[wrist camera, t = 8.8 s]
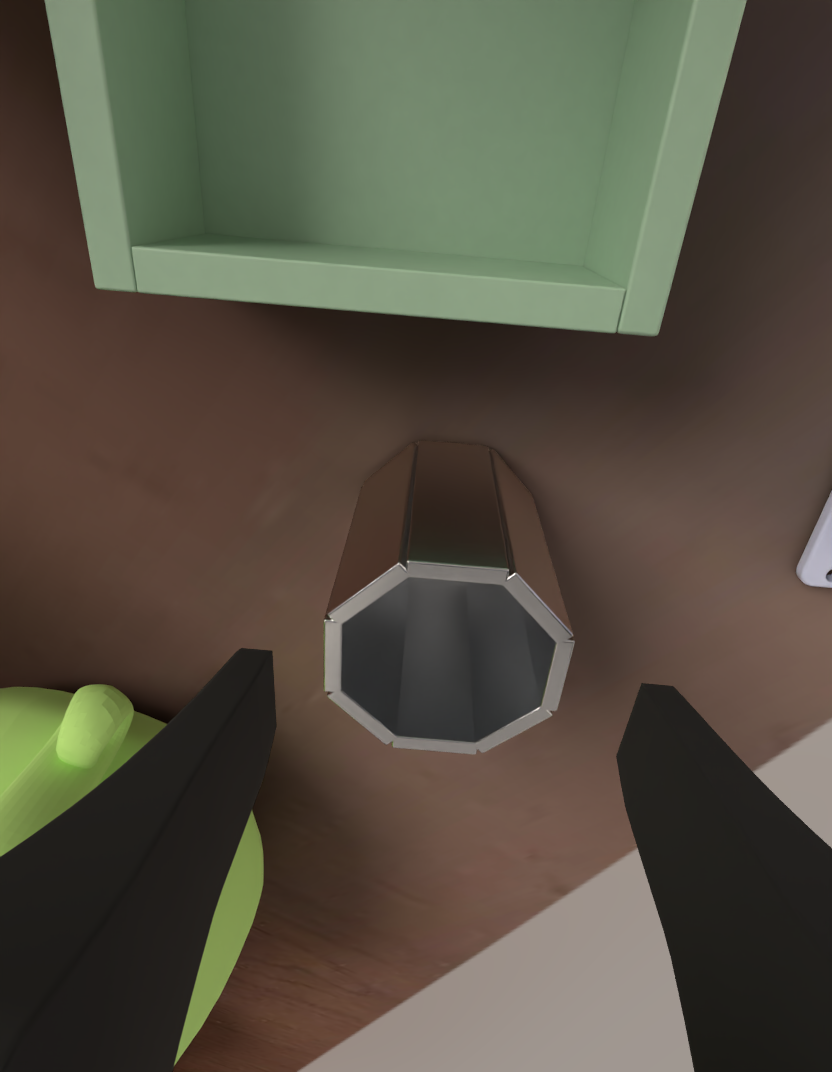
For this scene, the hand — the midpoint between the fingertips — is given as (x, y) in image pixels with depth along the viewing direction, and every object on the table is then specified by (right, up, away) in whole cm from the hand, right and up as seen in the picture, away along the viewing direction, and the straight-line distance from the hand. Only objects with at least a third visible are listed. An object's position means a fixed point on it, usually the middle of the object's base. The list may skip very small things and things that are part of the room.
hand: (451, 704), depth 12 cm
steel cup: (0, +4, +7) cm, 8 cm away
